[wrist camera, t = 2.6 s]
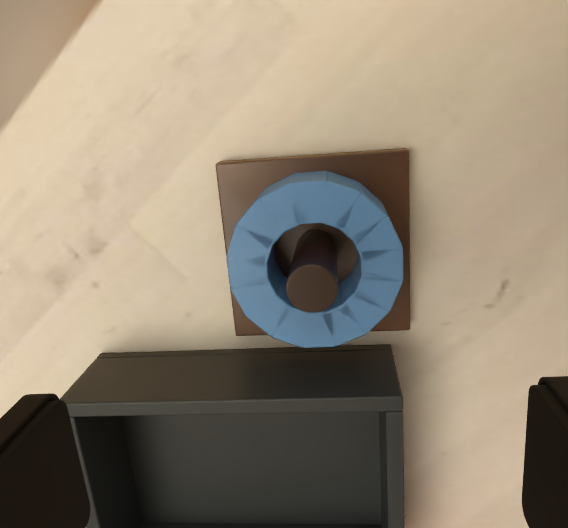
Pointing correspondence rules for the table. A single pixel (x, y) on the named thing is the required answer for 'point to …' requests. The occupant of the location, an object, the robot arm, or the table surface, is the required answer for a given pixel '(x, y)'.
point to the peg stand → (320, 226)
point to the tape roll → (351, 291)
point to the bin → (242, 438)
